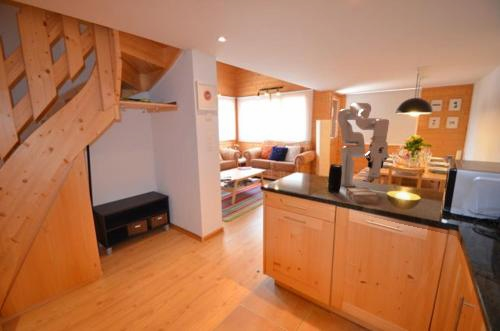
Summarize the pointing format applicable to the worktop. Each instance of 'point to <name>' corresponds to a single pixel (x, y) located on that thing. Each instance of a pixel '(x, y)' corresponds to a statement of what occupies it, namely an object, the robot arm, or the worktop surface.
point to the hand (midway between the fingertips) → (375, 167)
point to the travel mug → (376, 166)
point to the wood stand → (361, 195)
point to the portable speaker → (335, 178)
